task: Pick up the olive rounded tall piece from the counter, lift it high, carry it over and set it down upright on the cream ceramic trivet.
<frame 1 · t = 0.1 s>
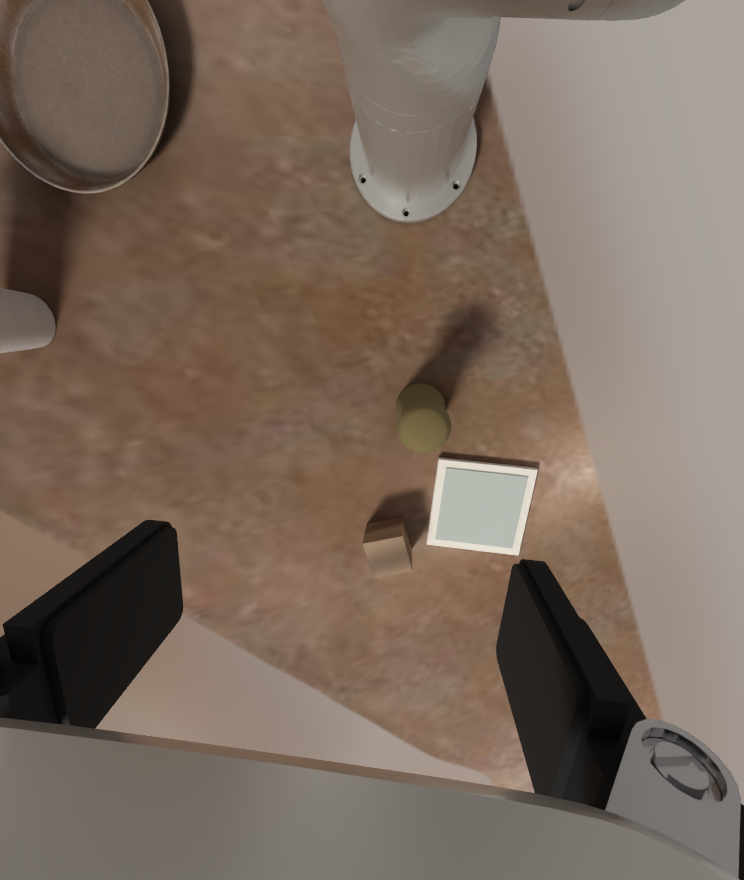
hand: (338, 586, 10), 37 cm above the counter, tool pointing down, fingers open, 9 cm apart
walnut block: (389, 536, 51), on the counter
coffee cup: (32, 320, 47), on the counter
trivet: (478, 505, 49), on the counter
olive rounded tall piece: (420, 407, 46), on the counter
plant saucer: (94, 92, 40), on the counter
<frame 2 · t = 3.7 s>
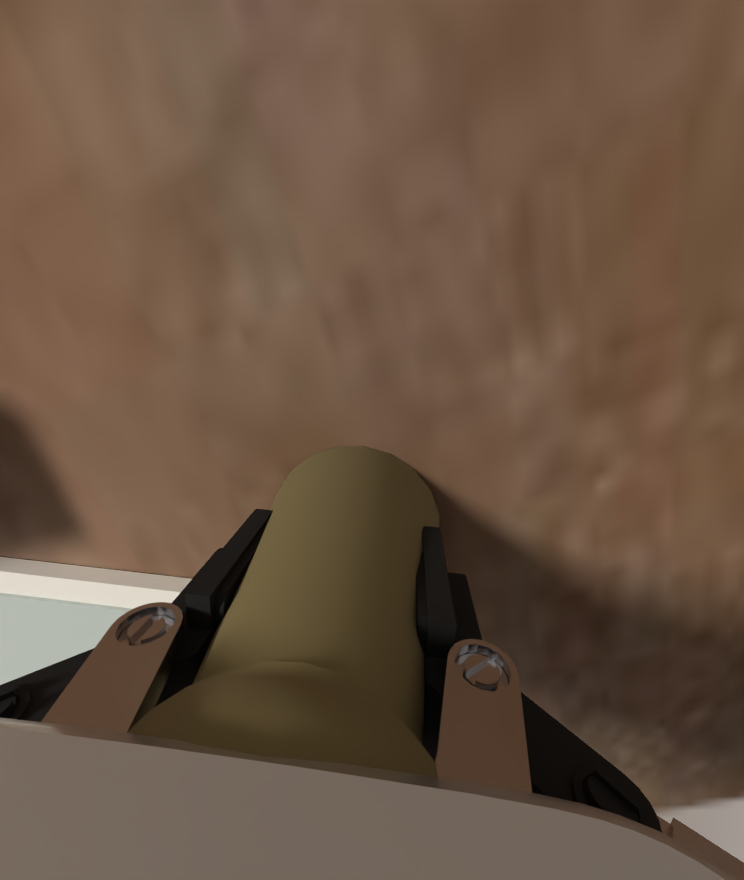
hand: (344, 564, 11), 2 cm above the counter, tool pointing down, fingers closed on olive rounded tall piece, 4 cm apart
trivet: (76, 679, 17), on the counter
olive rounded tall piece: (355, 523, 14), on the counter, touching gripper
when the fingers open (4 cm above the counter, at t = 8.8 s): olive rounded tall piece drops 1 cm, resting on trivet.
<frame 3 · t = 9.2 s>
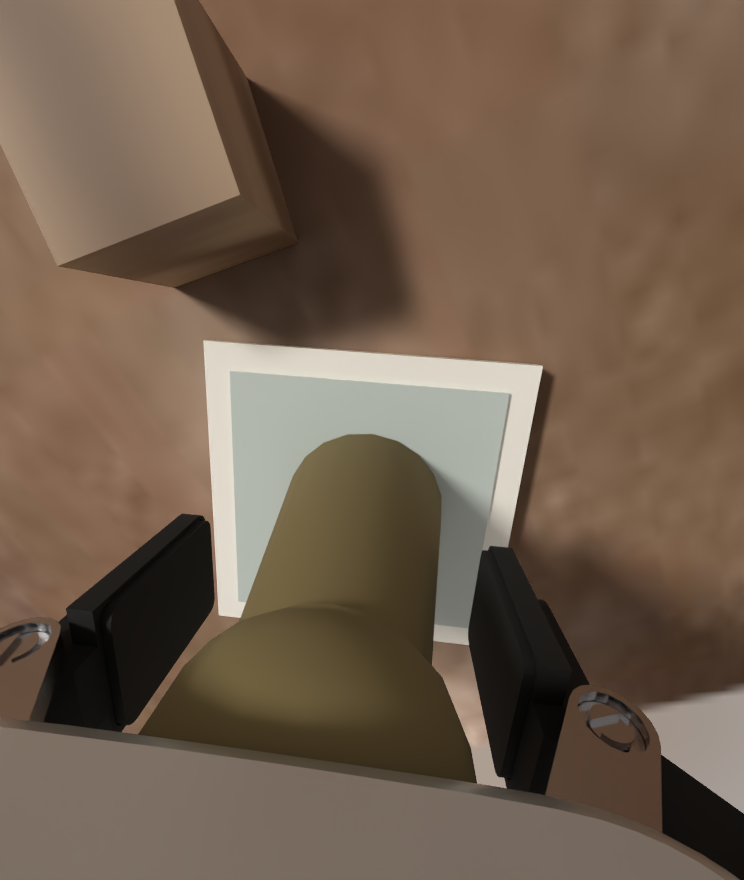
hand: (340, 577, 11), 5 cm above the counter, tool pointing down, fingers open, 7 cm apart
walnut block: (208, 191, 13), on the counter
trivet: (360, 499, 16), on the counter
olive rounded tall piece: (364, 505, 15), point 1 cm above the counter, touching trivet
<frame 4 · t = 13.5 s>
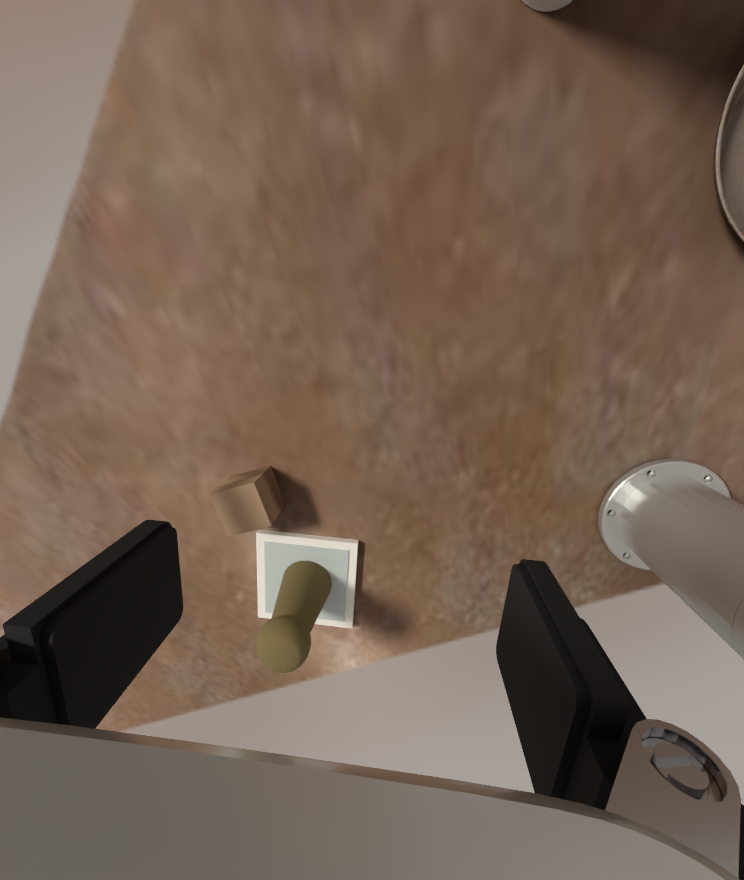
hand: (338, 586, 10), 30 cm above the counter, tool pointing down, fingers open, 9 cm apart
walnut block: (258, 490, 44), on the counter
trivet: (307, 577, 46), on the counter
olive rounded tall piece: (307, 581, 46), point 1 cm above the counter, touching trivet
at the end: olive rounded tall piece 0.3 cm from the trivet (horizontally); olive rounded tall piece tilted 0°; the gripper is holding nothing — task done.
